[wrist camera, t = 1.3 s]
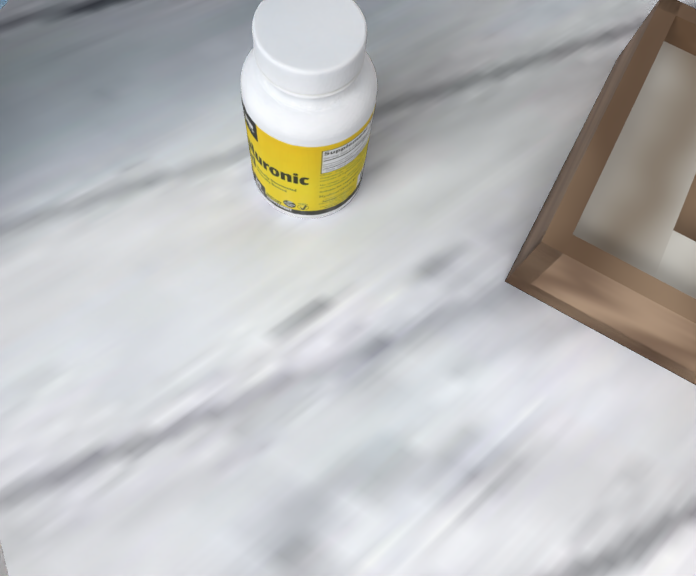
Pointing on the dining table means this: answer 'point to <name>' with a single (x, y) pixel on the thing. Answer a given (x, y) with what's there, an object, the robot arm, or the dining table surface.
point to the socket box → (629, 203)
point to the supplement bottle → (308, 104)
